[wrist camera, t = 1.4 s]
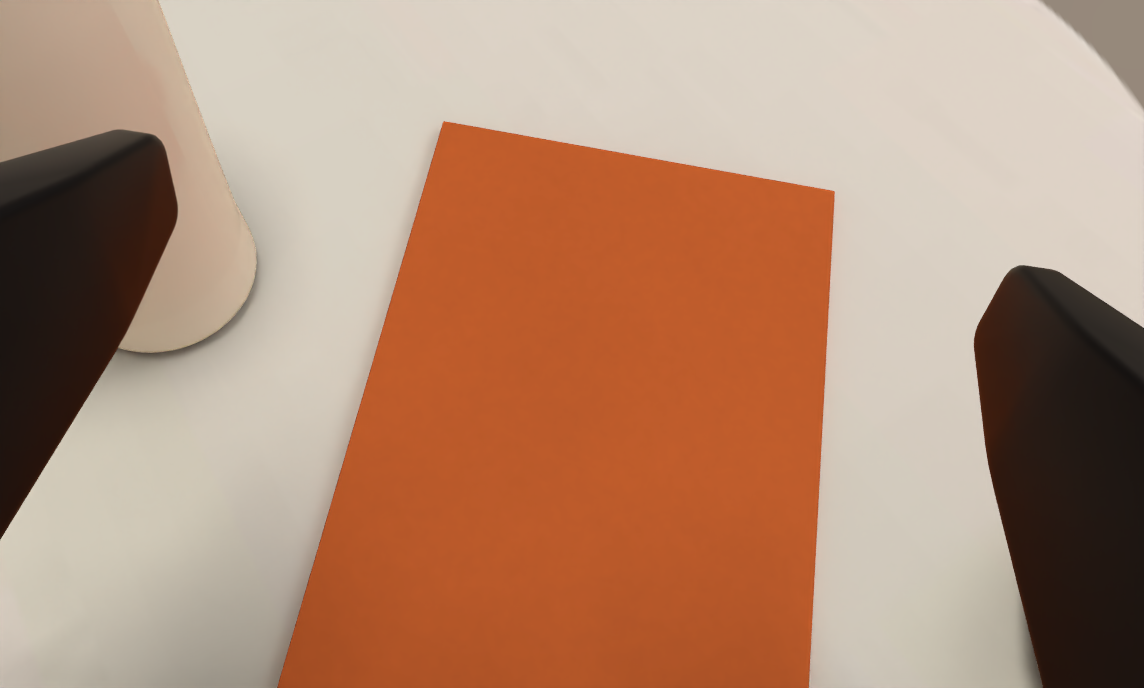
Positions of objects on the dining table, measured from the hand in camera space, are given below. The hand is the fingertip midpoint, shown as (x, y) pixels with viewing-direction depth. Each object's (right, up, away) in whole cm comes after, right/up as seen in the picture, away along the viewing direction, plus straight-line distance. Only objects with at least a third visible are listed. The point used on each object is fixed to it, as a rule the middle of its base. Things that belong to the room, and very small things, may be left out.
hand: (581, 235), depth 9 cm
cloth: (0, -5, +14) cm, 15 cm away
